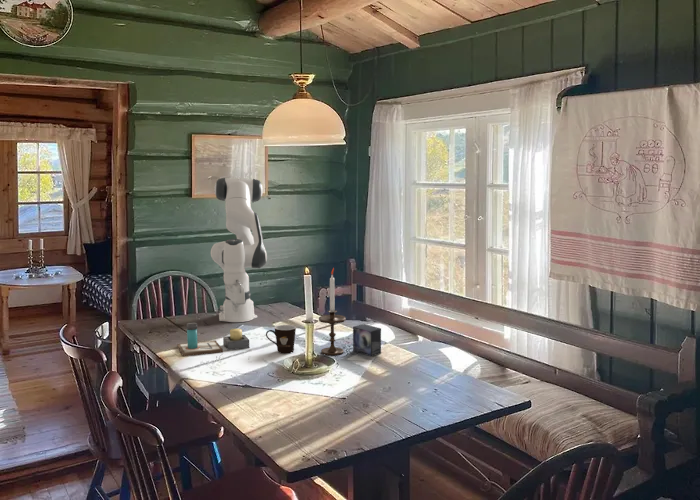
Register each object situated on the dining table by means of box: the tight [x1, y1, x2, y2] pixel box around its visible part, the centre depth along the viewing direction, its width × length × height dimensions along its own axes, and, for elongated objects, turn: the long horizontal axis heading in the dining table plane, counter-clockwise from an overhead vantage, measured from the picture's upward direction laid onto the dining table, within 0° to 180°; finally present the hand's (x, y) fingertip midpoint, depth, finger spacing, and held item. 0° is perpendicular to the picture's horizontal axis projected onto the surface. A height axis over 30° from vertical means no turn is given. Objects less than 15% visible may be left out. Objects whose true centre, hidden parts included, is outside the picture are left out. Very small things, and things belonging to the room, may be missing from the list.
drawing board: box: [176, 339, 224, 357], centre depth 278 cm, size 15×16×1 cm
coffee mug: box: [265, 324, 297, 355], centre depth 275 cm, size 12×9×10 cm
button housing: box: [222, 334, 250, 351], centre depth 283 cm, size 9×9×4 cm
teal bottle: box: [186, 322, 198, 349], centre depth 275 cm, size 4×4×10 cm
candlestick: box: [318, 267, 347, 357], centre depth 271 cm, size 11×11×35 cm
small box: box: [352, 323, 382, 357], centre depth 273 cm, size 11×6×10 cm, turn 44°
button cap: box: [229, 328, 243, 341], centre depth 282 cm, size 5×5×4 cm
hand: (235, 311), depth 281 cm, fingers closed
